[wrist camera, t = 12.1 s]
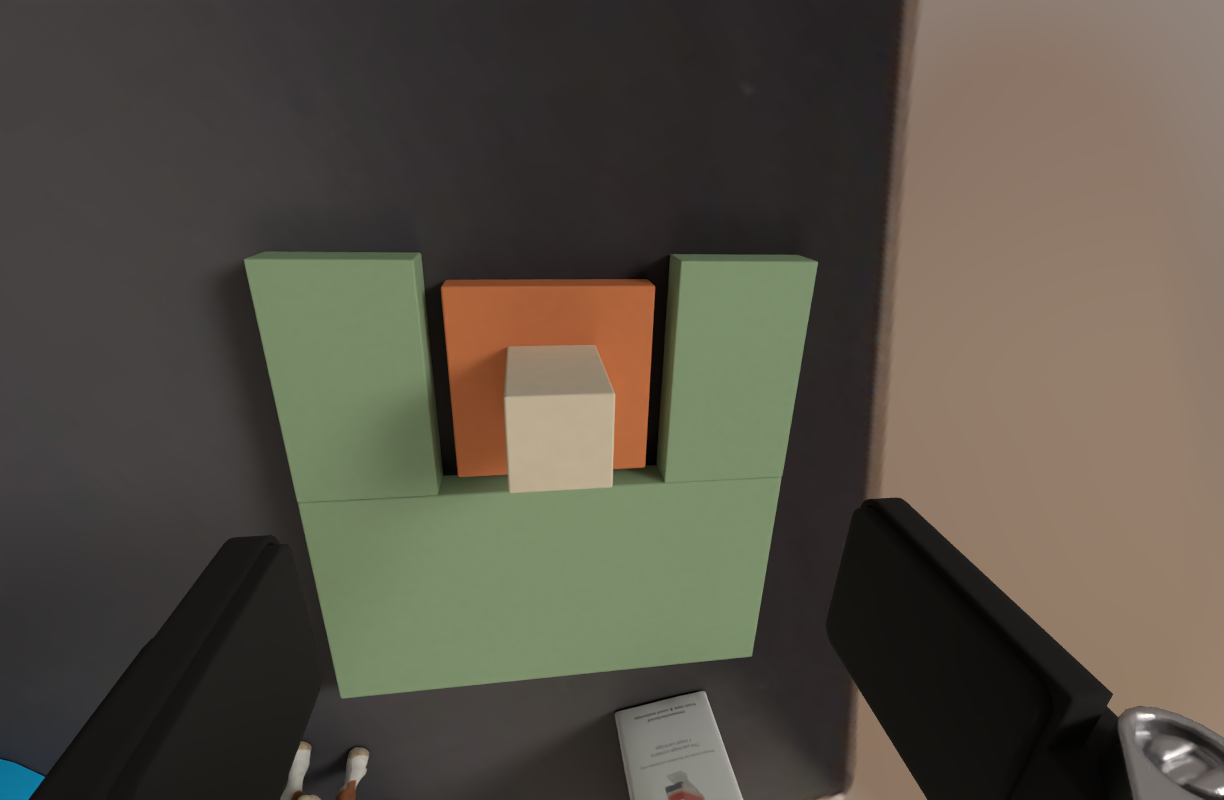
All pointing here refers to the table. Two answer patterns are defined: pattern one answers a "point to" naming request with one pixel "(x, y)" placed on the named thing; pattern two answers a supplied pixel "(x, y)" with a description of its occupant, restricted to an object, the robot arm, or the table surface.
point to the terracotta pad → (545, 322)
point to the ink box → (675, 751)
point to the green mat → (531, 521)
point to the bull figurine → (293, 791)
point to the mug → (17, 781)
